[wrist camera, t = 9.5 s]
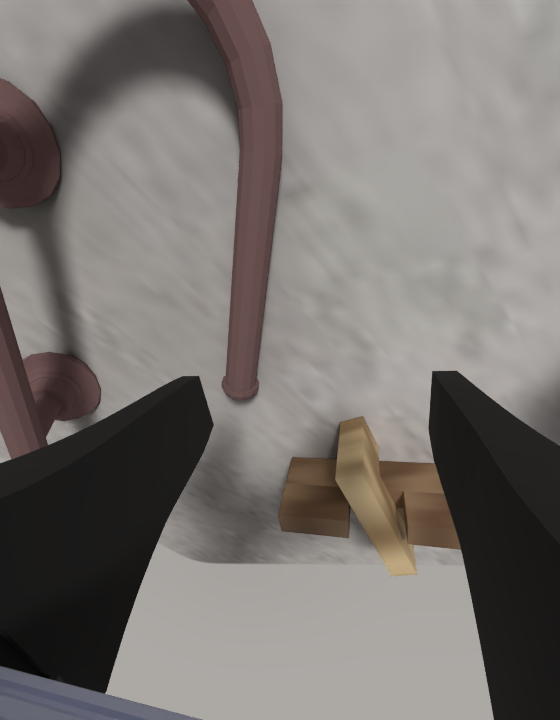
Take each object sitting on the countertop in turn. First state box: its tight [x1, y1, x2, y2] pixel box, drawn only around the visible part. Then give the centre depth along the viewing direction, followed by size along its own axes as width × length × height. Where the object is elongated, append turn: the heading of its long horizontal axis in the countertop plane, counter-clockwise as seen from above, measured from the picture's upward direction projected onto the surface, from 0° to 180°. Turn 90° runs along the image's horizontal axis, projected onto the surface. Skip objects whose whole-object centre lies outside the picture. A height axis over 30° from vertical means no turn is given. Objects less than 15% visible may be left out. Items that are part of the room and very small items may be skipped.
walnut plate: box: [278, 457, 461, 549], centre depth 22 cm, size 12×2×5 cm, turn 99°
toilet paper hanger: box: [0, 0, 283, 459], centre depth 19 cm, size 28×7×17 cm
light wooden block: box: [335, 416, 417, 576], centre depth 22 cm, size 9×2×5 cm, turn 28°
